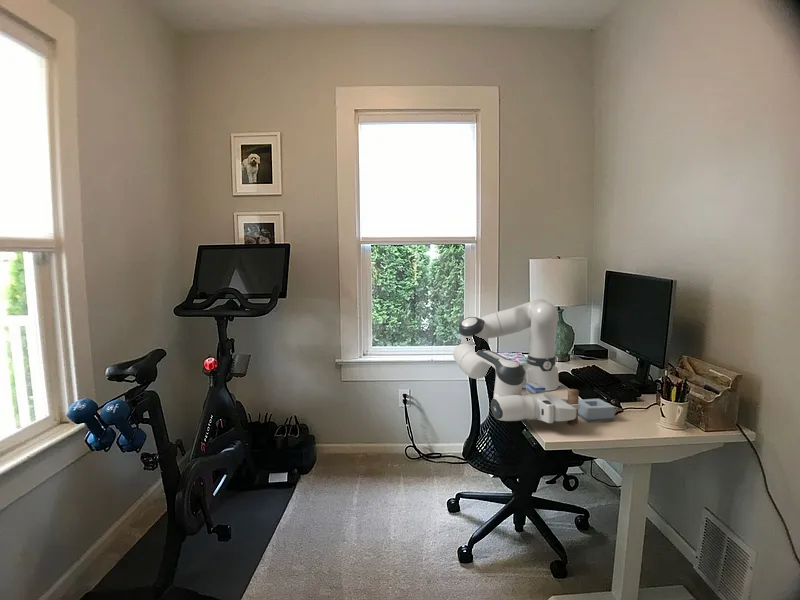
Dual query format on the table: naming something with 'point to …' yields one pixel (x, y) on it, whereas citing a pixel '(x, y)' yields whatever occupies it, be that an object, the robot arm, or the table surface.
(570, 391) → the dowel
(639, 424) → the table surface
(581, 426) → the table surface
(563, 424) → the table surface
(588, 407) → the socket block
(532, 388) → the medicine box
